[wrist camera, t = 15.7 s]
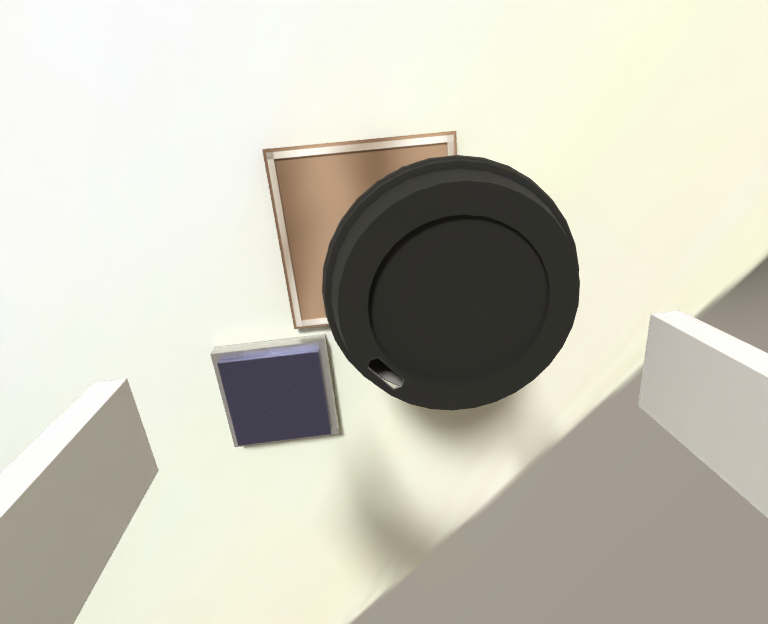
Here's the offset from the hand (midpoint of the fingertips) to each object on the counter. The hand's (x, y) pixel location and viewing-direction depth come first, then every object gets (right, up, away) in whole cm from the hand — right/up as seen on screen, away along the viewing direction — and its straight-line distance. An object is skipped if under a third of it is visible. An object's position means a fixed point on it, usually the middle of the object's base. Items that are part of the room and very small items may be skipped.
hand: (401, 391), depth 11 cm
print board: (-1, +7, +19) cm, 20 cm away
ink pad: (-8, -4, +23) cm, 24 cm away
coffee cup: (+2, +8, +18) cm, 20 cm away
